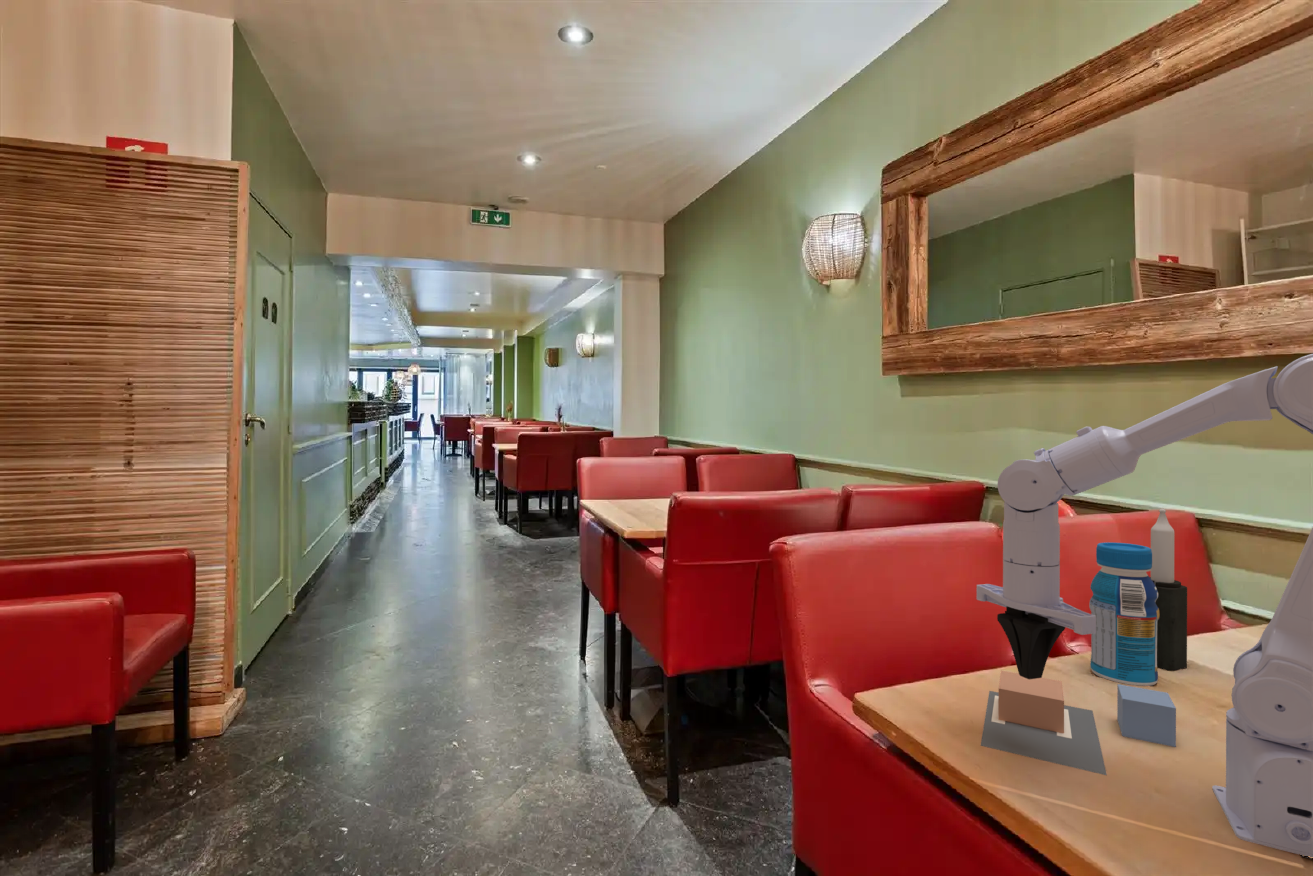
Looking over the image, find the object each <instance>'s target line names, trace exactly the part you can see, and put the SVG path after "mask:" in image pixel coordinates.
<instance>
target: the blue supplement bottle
mask: <svg viewBox="0 0 1313 876" xmlns="http://www.w3.org/2000/svg"><path fill="white" fill-rule="evenodd" d="M1095 549H1096V553H1095V554H1096V555H1095V556H1096V561H1095V562H1096V564H1097V566H1098V567H1101V568H1100V569H1099V570H1098V571H1097V573H1096V574H1095V576H1094V577H1093V578H1092V580H1091V583H1090V587H1089V588H1090V590H1091V592H1092V596H1091V598H1090V599H1089V605H1088V606H1089V610H1090V611H1091V613H1090V614H1092V615H1095V616H1096V633H1094V634H1090V636H1091V637H1090V638H1091V641H1090V643H1091V649H1090V651H1091V653H1090V654H1091V657H1090V663H1089V664H1090V667H1089V668H1090V670H1091V672H1092V673H1093V674H1095V675H1096V676H1097V677H1099V678H1101V679H1105V680H1108V681H1112V682H1115V683H1117V684H1122V685H1127V686H1135V687H1137V686H1138V687H1139V686H1141V687H1145V686H1146V687H1151V686H1154V685H1156V684H1157V683H1158V681H1159V674H1158V673H1159V672H1158V667H1157V621H1158V619H1159V616H1160V614H1159V608H1158V607H1157V605H1156V599H1157V598H1158V591H1157V588H1156V586H1155V584H1154V583H1153V581H1152V580H1151V578H1150V577H1151V576H1150V575H1148V572H1151V568H1152V550H1151V547H1149V546H1146V545H1145V546H1144V545H1141V544H1135V543H1134V544H1133V543H1127V542H1126V543H1125V542H1109V541H1107V542H1099V543H1097V544H1096V548H1095Z"/></svg>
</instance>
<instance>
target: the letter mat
mask: <svg viewBox="0 0 1313 876" xmlns="http://www.w3.org/2000/svg"><path fill="white" fill-rule="evenodd" d="M987 698H988V699H987V703H986V704H987V705H986V709H985V715H984V722H983V729H982V735H981V741H980V746H981V747H983V748H989V749H993V750H997V751H1000V752H1001V751H1002V752H1006V753H1011V754H1014V755H1019V756H1021V757H1022V756H1023V757H1027V758H1032V759H1035V760H1040V761H1044V762H1049V763H1052V764H1056V765H1060V766H1066V767H1069V768H1074V769H1078V770H1082V771H1087V772H1091V773H1095V774H1099V775H1104V776H1107V775H1108V774H1107V769H1106V765H1105V760H1104V757H1103V752H1102V747H1101V743H1100V738H1099V734H1098V730H1097V725H1096V721H1095V716H1094V711H1093V710H1092V709H1087V708H1080V707H1076V706H1071V705H1065V704H1064V733H1059V732H1055V731H1050V730H1045V729H1041V728H1036V727H1031V726H1026V725H1022V724H1017V723H1012V722H1008V721H1003V720H998V700H999V691H994V690H989V692H988V697H987Z"/></svg>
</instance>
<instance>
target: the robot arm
mask: <svg viewBox="0 0 1313 876" xmlns="http://www.w3.org/2000/svg"><path fill="white" fill-rule="evenodd" d="M1278 367H1279V366H1277V365H1276V366H1274V367H1273V366H1272V367H1270V368H1265V369H1263V370H1260V371H1256V372H1254V373H1251V374H1247V375H1245V376H1243V377H1239V378H1236V379H1233V380H1229V381H1228V382H1225V383H1221V384H1219V385H1218V386H1216V387H1214V388H1211V389H1209V390H1207V391H1205V392H1203V393H1201V394H1198V395H1196V396H1194V397H1192V398H1190V399H1187V400H1186V401H1184V402H1181V403H1179V404H1176V405H1175V406H1173V407H1170V408H1169V409H1166V410H1164V411H1162V412H1159V413H1158V414H1156V415H1152V416H1151V417H1149V418H1147V419H1144V420H1142V421H1140V422H1138V423H1136V424H1133V425H1131V426H1130V427H1126V428H1125V429H1118V428H1114V427H1111V426H1108V425H1100V426H1099V427H1096V428H1094V429H1093V428H1092V427H1091V426H1084V427H1082V428H1080V429H1078V430H1076V434H1077V436H1076V437H1074V438H1071V439H1069V440H1067V441H1063V442H1062V443H1060V444H1058V445H1055V446H1053V447H1051V448H1049V449H1047V450H1046V449H1045V448H1044V447H1043V448H1042V447H1041V448H1039V449H1036V450H1034V452H1033V454H1034V456H1035V459H1026V458H1025V459H1024V458H1023V459H1017V460H1014V461H1013V462H1012V463H1011V464H1009V465H1008V466H1006V467H1005V468H1004V469H1003V470H1002V471H1001V473H1000V474H999V476H998V479H997V490H998V494H999V497H1000V498H1001V499H1002V500H1003V501H1004V502H1003V507H1004V508H1003V522H1002V586H998V585H996V584H990V583H985V584H976V600H977V601H980V602H989V603H991V604H995V605H998V606H1000V607H1004V608H1006V610H1004V612H1003V613H998V614H997V616H996V618H997V619H996V620H997V622H998V623H999V625H1000V626H1001V628H1002V630H1003V632H1004V633H1005V636H1006V638H1007V639H1008V642H1009V645H1010V648H1011V650H1012V651H1011V652H1012V653H1013V657H1014V660H1015V664H1016V668H1017V672H1018V674H1019V675H1020V676H1022V677H1024V678H1027V679H1036V678H1043V674H1044V670H1045V666H1046V664H1047V661H1048V658H1049V657H1050V656H1049V655H1050V653H1051V651H1052V649H1053V647H1054V645H1055V644H1056V642H1057V640H1058V639H1059V637H1060V636H1061V635H1062V633H1063V632H1064V631H1065V630H1066V629H1069V630H1073V633H1075V634H1078V635H1081V636H1084V635H1085V636H1086V635H1091V634H1094V633H1096V616H1095V615H1092V614H1091V613H1089V612H1086V611H1084V610H1082V609H1079V608H1076V607H1074V606H1072V605H1070V604H1068V603H1066V602H1064V598H1063V597H1060V596H1061V595H1060V591H1061V589H1060V587H1061V585H1060V584H1061V582H1060V581H1061V579H1060V577H1061V574H1060V570H1061V569H1060V568H1061V565H1060V564H1061V563H1060V562H1061V560H1060V559H1061V552H1060V551H1061V545H1060V543H1061V525H1060V523H1059V503H1058V502H1060V501H1061V500H1062V498H1064V495H1066V496H1069V497H1070V496H1075V495H1079V494H1081V493H1084V492H1086V491H1089V490H1091V489H1093V488H1096V487H1099V486H1101V485H1104V484H1106V483H1109V482H1111V481H1115V480H1116V479H1120V478H1121V477H1125V476H1127V475H1130V474H1132V473H1133V472H1135V469H1136V468H1137V464H1138V461H1139V459H1140V457H1141V456H1142V455H1144V454H1147V453H1149V452H1152V451H1155V450H1158V449H1161V448H1163V447H1166V446H1168V445H1170V444H1173V443H1176V442H1178V441H1179V442H1180V441H1182V440H1184V439H1187V438H1190V437H1192V436H1195V435H1197V434H1200V433H1203V432H1206V431H1208V430H1211V429H1213V428H1216V427H1219V426H1221V425H1225V424H1226V423H1227V424H1228V423H1230V422H1253V421H1254V422H1255V421H1257V422H1260V421H1263V422H1264V421H1265V422H1266V421H1271V420H1272V419H1273V415H1272V410H1276V411H1277V412H1278V414H1280V415H1281V416H1282V417H1284V418H1285V419H1286V420H1289V421H1290V422H1292V423H1294V425H1296V426H1298V427H1300V428H1302V429H1303V430H1305V431H1307V433H1308V432H1309V433H1310V434H1312V435H1313V353H1311V354H1306V355H1304V356H1301V357H1299V358H1297V359H1294V360H1293V361H1291V362H1290V363H1288V364H1287V365H1286V366H1285V367H1283V368H1282V370H1281V371H1280V372H1279V373H1278V375H1277V377H1274V376H1275V375H1276V373H1277V372H1278ZM1273 377H1274V378H1273ZM1305 541H1306V542H1305V543H1304V546H1303V548H1302V550H1301V552H1300V555H1299V557H1298V559H1297V561H1296V564H1295V566H1294V568H1293V570H1292V573H1291V575H1290V577H1289V579H1288V582H1287V585H1286V586H1285V589H1284V591H1283V593H1282V595H1281V598H1280V600H1279V603H1277V607H1276V608H1275V611H1274V614H1273V616H1272V618H1271V619H1270V621H1269V623H1268V624H1266V627H1265V628H1264V630H1263V632H1262V633H1261V636H1260V639H1259V640H1258V641H1257V643H1256V644H1255V645H1254V646H1253V647H1251V648H1249V649H1248V650H1246V651H1244V652H1243V653H1241V654H1240V655H1239V656H1238V657H1237V659H1236V660H1235V662H1234V664H1233V671H1232V673H1233V677H1234V684H1233V687H1232V689H1231V703H1232V705H1233V707H1231V708H1229V709H1228V710H1226V711H1225V715H1226V716H1225V717H1226V718H1225V724H1226V725H1225V787H1224V786H1221V785H1212V787H1211V788H1212V789H1211V790H1212V791H1213V793H1214V796H1215V797H1216V799H1217V801H1218V804H1219V805H1220V808H1221V810H1222V811H1223V813H1224V815H1225V817H1226V819H1227V821H1228V823H1229V826H1231V829H1232V830H1233V833H1234V835H1235V837H1237V838H1238V839H1240V840H1242V841H1245V842H1249V843H1253V844H1257V845H1260V846H1265V847H1267V848H1272V849H1276V850H1280V851H1283V852H1284V851H1285V852H1288V853H1293V854H1295V855H1299V854H1300V855H1302V856H1301V857H1304V856H1310V857H1313V526H1312V527H1311V529H1310V532H1309V535H1308V537H1307V539H1306V540H1305ZM1300 855H1299V856H1300ZM1303 855H1304V856H1303Z"/></svg>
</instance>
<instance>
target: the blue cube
mask: <svg viewBox="0 0 1313 876" xmlns="http://www.w3.org/2000/svg"><path fill="white" fill-rule="evenodd" d="M1116 693H1117V695H1116V696H1117V700H1116V702H1117V709H1116V710H1117V712H1116V713H1117V719H1116V721H1117V723H1118V727H1119V729H1120V732H1121V733H1120V734H1121V736H1122V737H1125V738H1129V739H1134V740H1138V741H1142V742H1143V741H1144V742H1148V743H1154V744H1159V745H1164V746H1167V747H1168V746H1169V747H1172V748H1177V707H1176V706H1175V704H1174V702H1173V700H1172V699H1171V696H1170V694H1169V692H1164V691H1159V690H1153V689H1149V688H1142V687H1137V686H1132V685H1126V684H1120V683H1117V692H1116Z"/></svg>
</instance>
